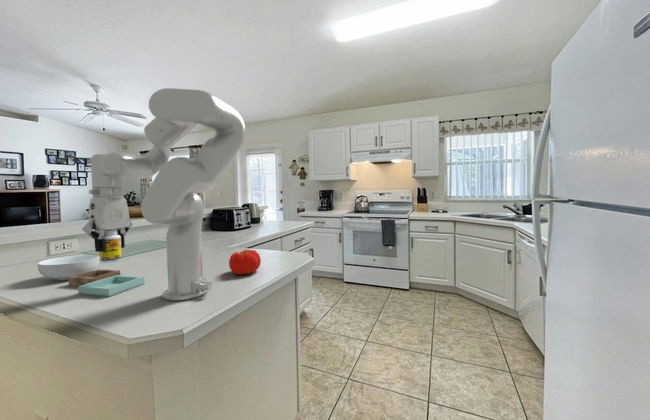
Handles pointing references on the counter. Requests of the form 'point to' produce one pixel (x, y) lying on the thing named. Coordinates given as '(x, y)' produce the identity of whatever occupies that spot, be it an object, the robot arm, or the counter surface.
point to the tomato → (244, 262)
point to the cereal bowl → (67, 266)
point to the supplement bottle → (111, 247)
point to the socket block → (91, 276)
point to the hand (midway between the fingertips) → (110, 248)
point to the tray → (110, 286)
